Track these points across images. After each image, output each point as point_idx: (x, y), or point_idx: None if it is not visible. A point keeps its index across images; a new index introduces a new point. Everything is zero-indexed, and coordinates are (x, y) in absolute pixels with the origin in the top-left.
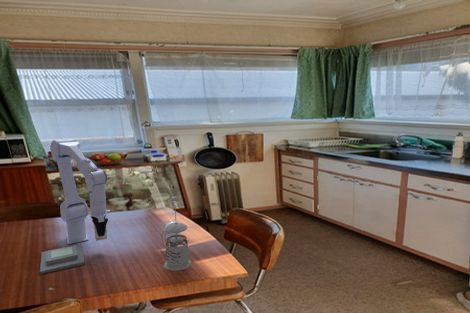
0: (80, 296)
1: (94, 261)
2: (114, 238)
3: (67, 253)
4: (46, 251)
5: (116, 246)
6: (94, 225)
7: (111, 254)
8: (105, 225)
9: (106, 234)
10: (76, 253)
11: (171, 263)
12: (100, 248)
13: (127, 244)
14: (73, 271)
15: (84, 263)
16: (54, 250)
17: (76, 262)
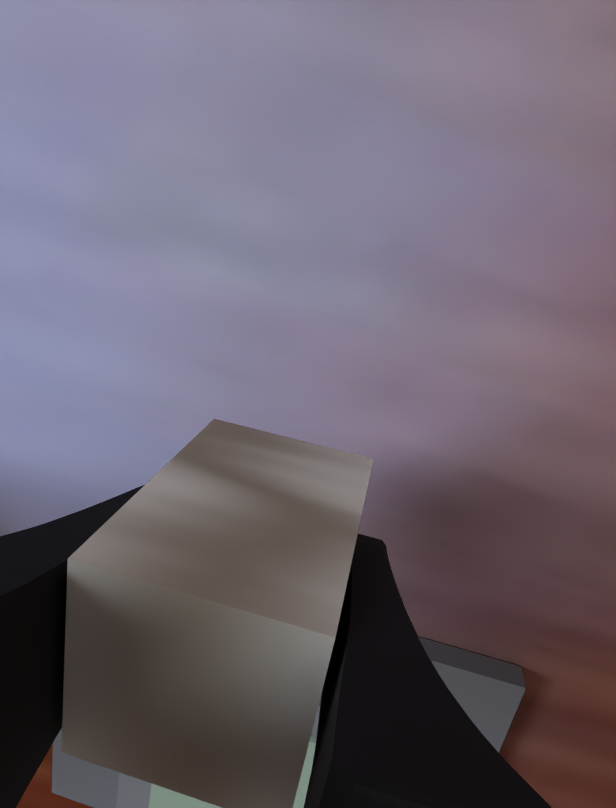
0: None
1: (537, 588)
2: (43, 183)
3: (304, 775)
4: (62, 773)
5: (315, 260)
6: (172, 765)
7: (509, 399)
8: (447, 700)
9: (362, 497)
10: None
11: None
12: (244, 424)
13: (356, 107)
14: (590, 771)
15: (522, 673)
16: (150, 801)
17: (484, 735)
